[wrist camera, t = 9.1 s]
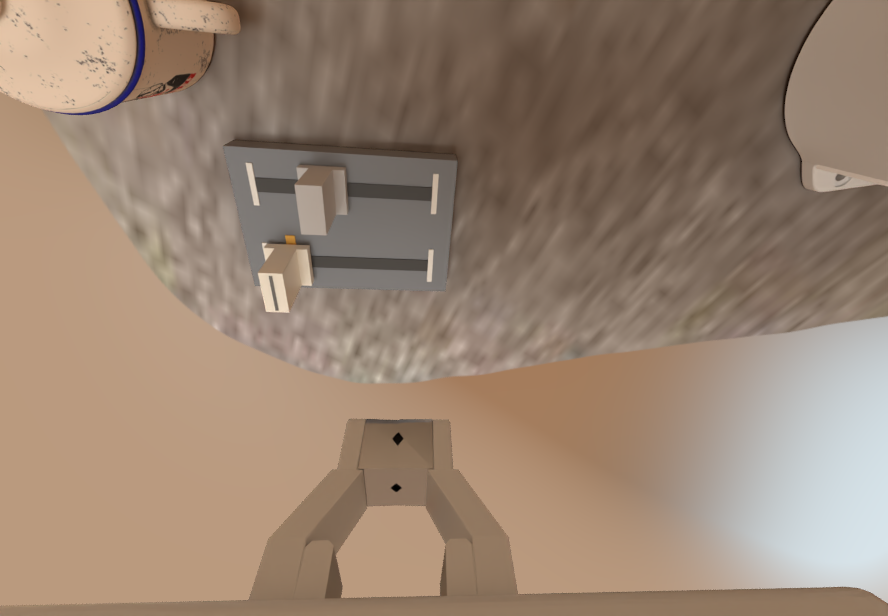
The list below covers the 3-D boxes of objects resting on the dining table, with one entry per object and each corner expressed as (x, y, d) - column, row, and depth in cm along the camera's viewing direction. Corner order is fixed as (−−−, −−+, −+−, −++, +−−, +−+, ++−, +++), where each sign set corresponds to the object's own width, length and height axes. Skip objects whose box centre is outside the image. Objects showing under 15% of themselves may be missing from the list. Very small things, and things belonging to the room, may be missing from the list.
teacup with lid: (89, 90, 25) (-108, 116, 16) (16, -107, 20) (-340, -245, 11) (278, 106, 27) (202, 140, 17) (254, -75, 22) (126, -174, 12)
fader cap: (309, 245, 30) (294, 274, 26) (313, 280, 32) (300, 313, 28) (266, 243, 30) (244, 273, 26) (273, 279, 31) (254, 312, 27)
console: (455, 154, 29) (465, 179, 24) (444, 280, 35) (450, 323, 30) (234, 140, 28) (189, 163, 22) (262, 274, 34) (233, 318, 28)
